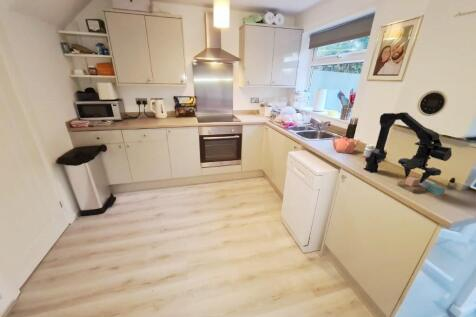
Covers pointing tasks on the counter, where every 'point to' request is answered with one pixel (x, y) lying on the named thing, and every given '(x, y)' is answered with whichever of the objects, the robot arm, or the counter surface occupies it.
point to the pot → (344, 145)
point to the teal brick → (436, 189)
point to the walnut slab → (411, 187)
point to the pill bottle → (368, 151)
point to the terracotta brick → (412, 181)
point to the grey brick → (426, 183)
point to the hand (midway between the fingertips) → (413, 180)
